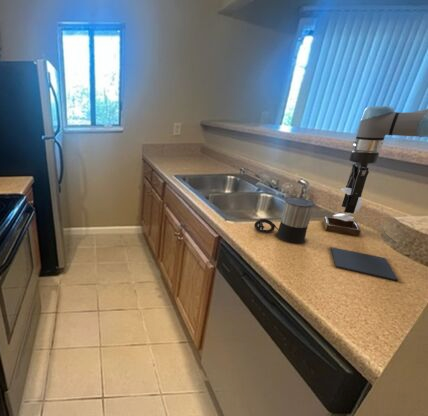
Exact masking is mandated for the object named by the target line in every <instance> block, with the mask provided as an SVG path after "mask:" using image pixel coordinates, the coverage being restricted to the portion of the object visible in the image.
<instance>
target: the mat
mask: <svg viewBox="0 0 428 416" xmlns="http://www.w3.org/2000/svg"><path fill="white" fill-rule="evenodd" d="M330 251H331V254H332V258H333V263H334V267H335V268H337V269H338V268H339V269H342V270H347V271H351V272H356V273H360V274H365V275H368V276H373V277H378V278H381V279H385V280H389V281H395V282H398V281H399V279H398V277H397V276H396V274H395V272H394V271H393V268H391V265H390V264H389V262H388V260H387V259H386V257H381V256H377V255H372V254H367V253H362V252H357V251H353V250H348V249H342V248H338V247H334V246H333V247H332V246H331V247H330Z"/></svg>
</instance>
